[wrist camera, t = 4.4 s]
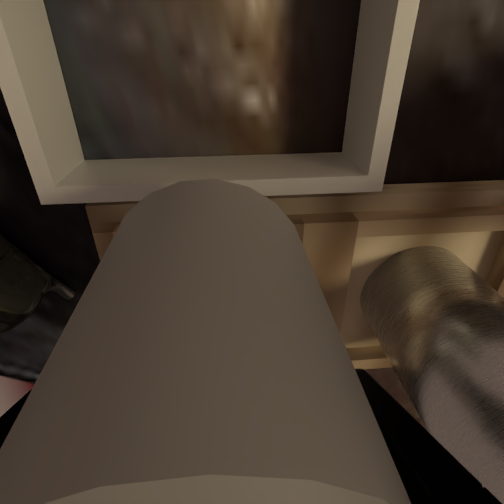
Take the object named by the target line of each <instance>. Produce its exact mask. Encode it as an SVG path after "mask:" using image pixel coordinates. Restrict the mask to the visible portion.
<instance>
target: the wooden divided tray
mask: <svg viewBox="0 0 504 504" xmlns="http://www.w3.org/2000/svg"><path fill="white" fill-rule="evenodd" d="M265 197H267V198H268V199H270V200H272V201H273V202H275V203H276V204H277V205H278V206H279V207H280V208H281V210H282V211H283V212H284V213H285V214H286V216H287V217H288V218H289V219H290V220H291V222H292V223H293V224H294V225H295V228H296V230H297V232H298V235H299V237H300V239H301V242H302V244H303V247H304V249H305V251H306V254H307V256H308V259H309V261H310V263H311V266H312V268H313V271H314V273H315V275H316V278H317V280H318V282H319V285H320V287H321V290H322V292H323V294H324V297H325V299H326V302H327V304H328V306H329V309H330V311H331V313H332V316H333V318H334V321H335V323H336V325H337V328H338V330H339V333H340V335H341V337H342V340H343V342H344V344H345V347H346V349H347V352H348V354H349V356H350V359H351V361H352V364H353V366H354V368H355V369H358V368H360V369H374V368H387V367H392V365H391V364H390V362H389V360H388V358H387V356H386V354H385V352H384V351H383V349H382V347H381V345H380V343H379V341H378V339H377V338H376V336H375V334H374V332H373V330H372V328H371V327H370V325H369V323H368V321H367V319H366V317H365V315H364V313H363V311H362V309H361V303H360V298H361V292H362V288H363V286H364V284H365V282H366V280H367V278H368V277H369V276H370V274H371V273H372V272H373V271H374V270H375V269H376V267H377V266H379V265H380V264H381V263H382V262H383V261H385V260H386V259H388V258H389V257H391V256H393V255H394V254H396V253H399V252H401V251H403V250H406V249H409V248H413V247H418V246H438V247H442V248H445V249H447V250H449V251H451V252H453V253H454V254H455V255H456V256H457V257H459V258H460V259H461V260H462V261H463V262H464V263H465V264H466V265H468V266H469V267H470V268H471V269H472V270H473V271H474V272H475V273H477V274H478V275H479V276H480V277H481V278H482V279H483V280H484V281H486V282H487V283H488V284H489V285H490V286H491V287H492V288H493V289H494V290H496V291H497V292H498V293H499V294H500V295H501V296H502V297H503V298H504V180H491V181H464V182H438V183H411V184H384V185H383V188H382V191H380V192H354V193H329V194H303V195H277V196H265ZM139 202H140V201H123V202H97V203H87V204H86V206H85V208H86V212H87V215H88V219H89V222H90V226H91V230H92V234H93V237H94V241H95V244H96V248H97V252H98V255H99V259H100V261H101V259H102V257H103V255H104V254H105V252H106V250H107V248H108V246H109V244H110V242H111V240H112V239H113V237H114V235H115V233H116V231H117V229H118V227H119V225H120V224H121V222H122V220H123V218H124V216H125V214H126V213H127V212H129V211H130V210H131V209H132V208H133V207H134V206H135V205H137V204H138V203H139Z"/></svg>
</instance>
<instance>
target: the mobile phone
mask: <svg viewBox="0 0 504 504" xmlns="http://www.w3.org/2000/svg"><path fill="white" fill-rule="evenodd" d="M48 291H54V292H56V293H58V294H59V295H60V296H62V297H63V298H65V299H67V300H70V299H72V298H73V297H74V295H75V292H73V291H72V290H71V289H70V288H68V287H67V286H65V285H64V284H63V283H61V282H60V281H58V280H57V279H56V278H54V277H53V276H52V275H50V274H49V273H48V272H46V271H45V270H44V269H42V268H41V267H40V266H38V265H37V264H35V263H34V262H33V261H32V260H30V258H29V257H28V256H27V255H25V254H24V253H23V252H22V251H20V250H19V249H18V248H17V247H15V246H14V245H13V244H11V243H10V242H9V241H8V240H7V239H6V238H5V237H4V236H3V235H2V234H1V233H0V332H4V331H7V330H10V329H12V328H14V327H15V326H17V325H18V324H20V323H21V322H22V321H24V320H25V319H26V318H27V317H29V316H30V315H31V314H32V313H33V311H34V310H35V309H36V308H37V306H38V305H39V303H40V301H41V299H42V297H43V295H44V294H45V293H46V292H48Z"/></svg>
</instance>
